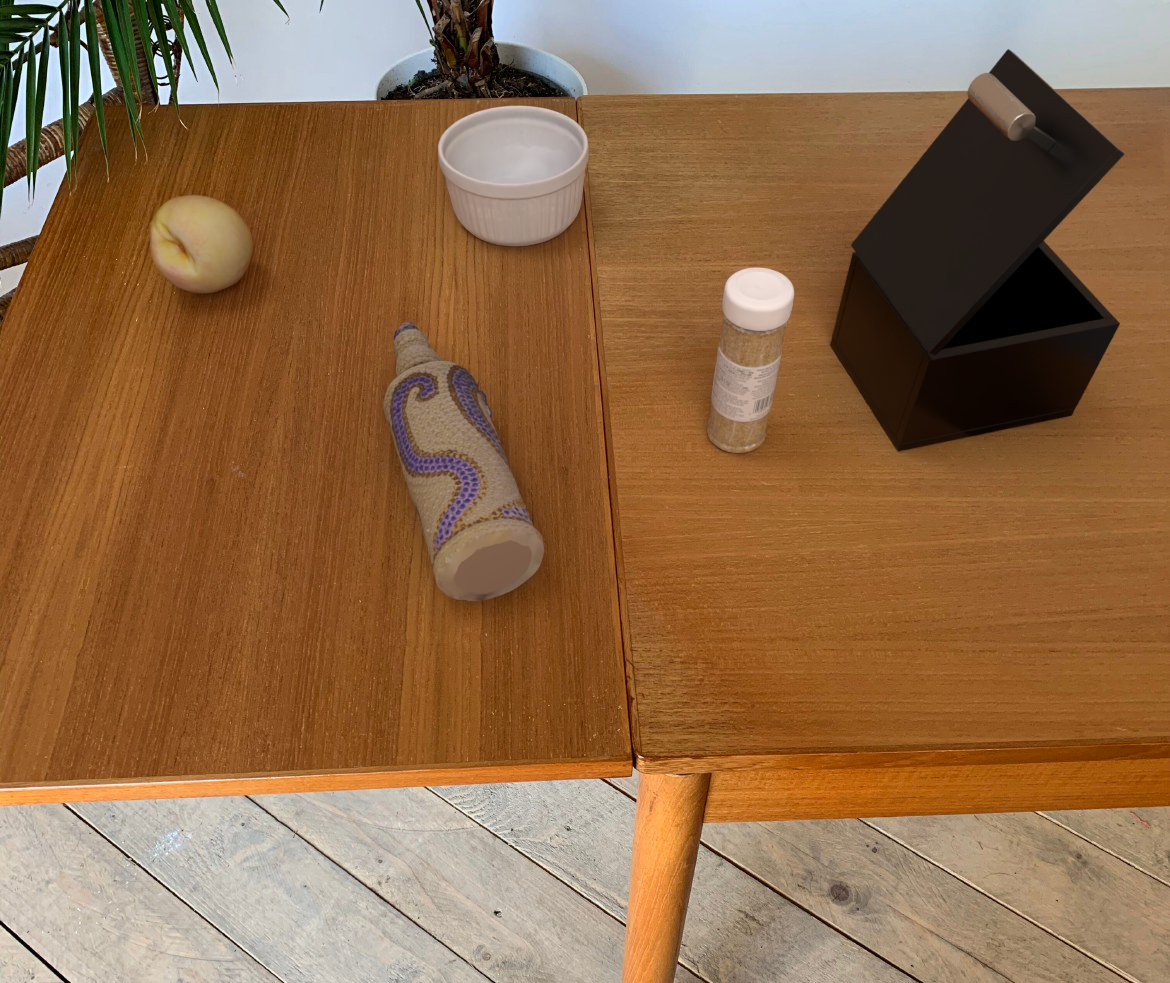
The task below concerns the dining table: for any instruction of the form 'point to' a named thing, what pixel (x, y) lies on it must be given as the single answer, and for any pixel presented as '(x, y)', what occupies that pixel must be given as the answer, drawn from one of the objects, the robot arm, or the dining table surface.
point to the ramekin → (515, 173)
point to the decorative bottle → (458, 475)
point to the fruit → (200, 244)
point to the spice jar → (748, 357)
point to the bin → (975, 355)
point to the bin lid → (982, 199)
